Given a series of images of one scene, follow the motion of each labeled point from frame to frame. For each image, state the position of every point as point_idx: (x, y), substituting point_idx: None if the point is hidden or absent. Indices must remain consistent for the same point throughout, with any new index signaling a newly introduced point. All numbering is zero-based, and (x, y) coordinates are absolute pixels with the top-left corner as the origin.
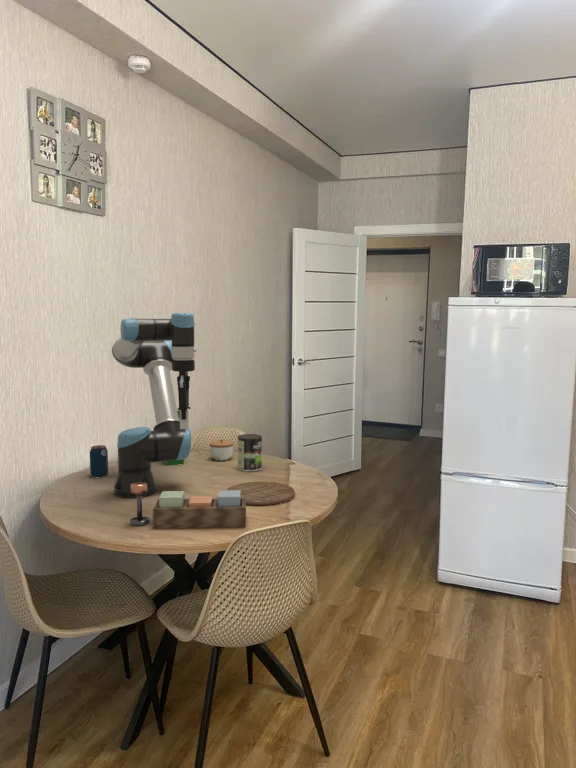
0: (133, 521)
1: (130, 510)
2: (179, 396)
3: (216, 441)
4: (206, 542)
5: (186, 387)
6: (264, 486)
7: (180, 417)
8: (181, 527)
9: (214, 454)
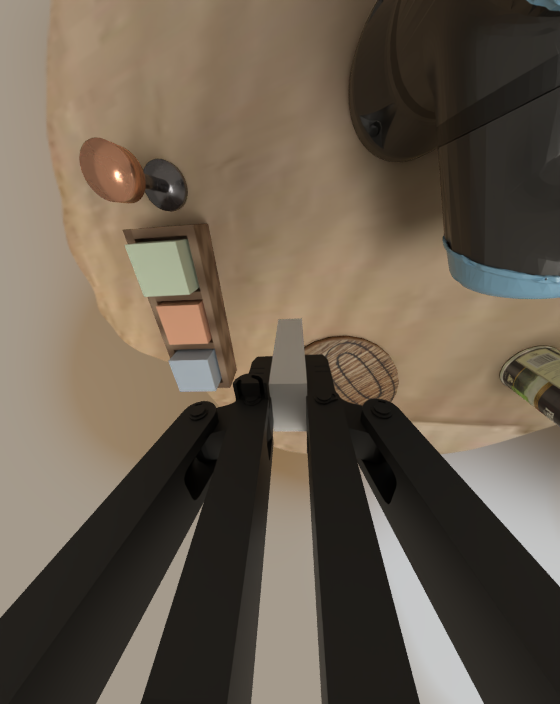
0: (149, 172)
1: (242, 127)
2: (69, 554)
3: None
4: (122, 327)
5: None
6: (364, 395)
7: (274, 354)
8: None
9: None
